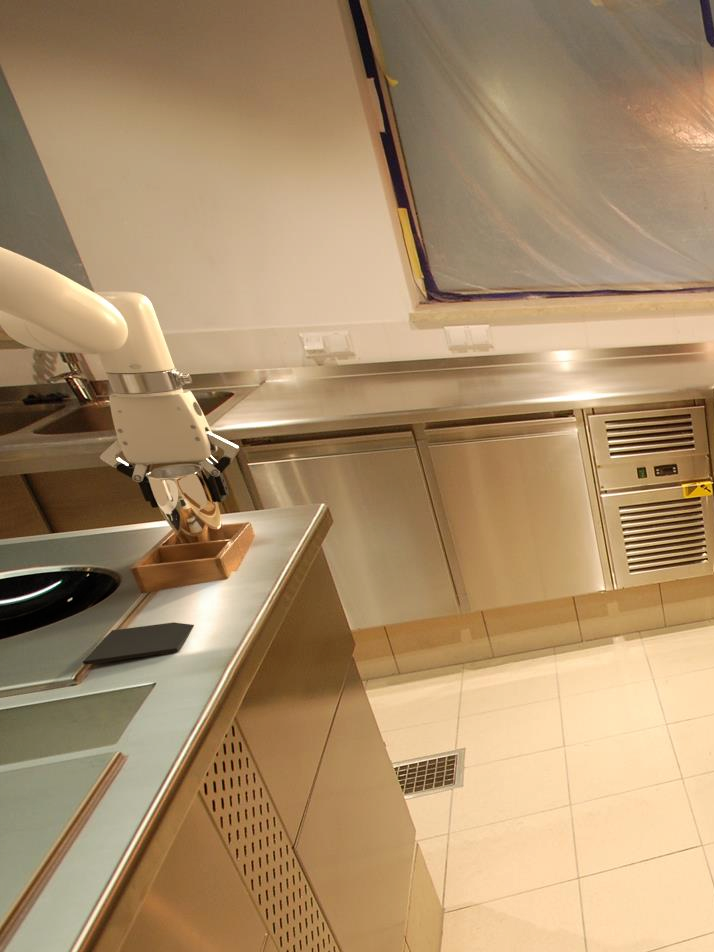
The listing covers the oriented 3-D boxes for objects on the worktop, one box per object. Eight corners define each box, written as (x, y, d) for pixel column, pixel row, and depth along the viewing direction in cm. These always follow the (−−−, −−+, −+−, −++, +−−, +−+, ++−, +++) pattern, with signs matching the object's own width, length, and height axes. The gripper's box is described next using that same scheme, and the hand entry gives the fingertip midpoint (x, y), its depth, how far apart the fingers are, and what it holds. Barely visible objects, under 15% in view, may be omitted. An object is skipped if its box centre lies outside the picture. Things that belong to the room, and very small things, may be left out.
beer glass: (172, 566, 131) (131, 474, 123) (216, 549, 137) (180, 460, 129) (208, 574, 129) (168, 481, 122) (251, 556, 135) (216, 467, 128)
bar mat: (83, 665, 102) (82, 661, 102) (113, 633, 110) (111, 630, 110) (178, 651, 106) (176, 648, 105) (200, 622, 114) (198, 619, 113)
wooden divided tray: (143, 600, 120) (129, 568, 118) (183, 558, 135) (171, 529, 133) (232, 590, 124) (220, 558, 122) (260, 550, 140) (250, 521, 137)
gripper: (227, 377, 128) (265, 491, 136) (76, 382, 121) (125, 502, 128) (214, 384, 122) (255, 503, 130) (55, 390, 115) (107, 515, 122)
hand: (190, 501), depth 129 cm, fingers closed on beer glass, 7 cm apart
